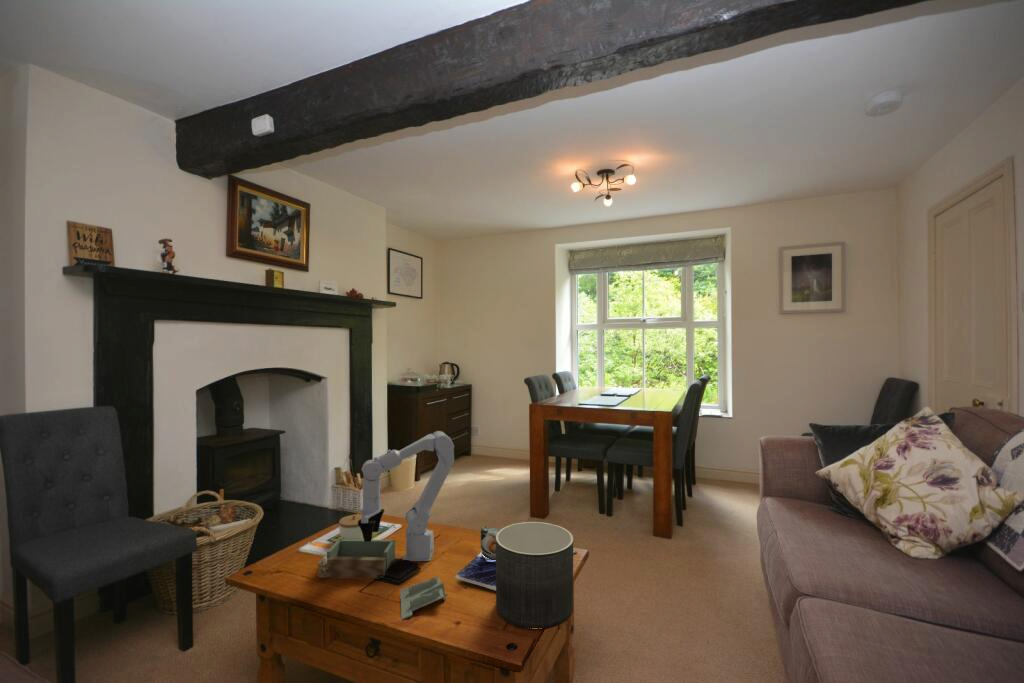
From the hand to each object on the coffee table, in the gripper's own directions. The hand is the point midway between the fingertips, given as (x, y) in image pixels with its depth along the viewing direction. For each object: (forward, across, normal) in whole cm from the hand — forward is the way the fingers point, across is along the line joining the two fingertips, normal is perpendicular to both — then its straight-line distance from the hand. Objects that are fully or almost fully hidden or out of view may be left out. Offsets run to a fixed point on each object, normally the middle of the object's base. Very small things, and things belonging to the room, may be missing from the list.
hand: (371, 536), depth 159 cm
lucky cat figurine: (+10, -4, +44) cm, 45 cm away
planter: (+10, +24, +55) cm, 61 cm away
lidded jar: (+10, -19, -13) cm, 25 cm away
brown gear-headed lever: (+10, +8, -4) cm, 13 cm away
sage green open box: (+9, +3, -3) cm, 10 cm away
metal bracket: (+10, +22, +22) cm, 33 cm away
